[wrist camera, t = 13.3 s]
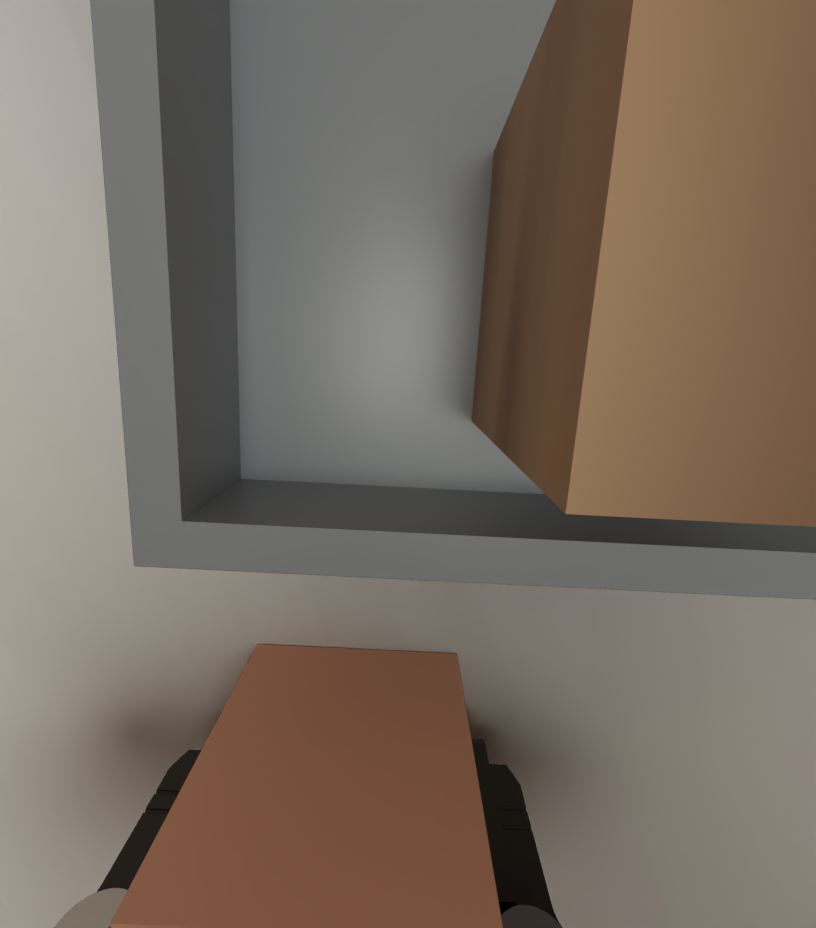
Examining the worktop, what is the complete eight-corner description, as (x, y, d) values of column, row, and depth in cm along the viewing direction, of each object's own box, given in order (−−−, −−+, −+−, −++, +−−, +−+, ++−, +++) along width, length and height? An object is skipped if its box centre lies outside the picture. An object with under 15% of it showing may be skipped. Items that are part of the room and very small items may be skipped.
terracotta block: (456, 653, 12) (504, 939, 6) (443, 815, 13) (471, 1190, 7) (257, 644, 12) (110, 923, 6) (259, 807, 13) (137, 1180, 7)
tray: (1222, -437, 8) (1885, -1084, 4) (924, 537, 11) (1151, 615, 8) (183, -514, 7) (-9, -1260, 4) (219, 501, 11) (133, 566, 8)
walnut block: (762, 167, 9) (1477, -220, 3) (711, 434, 10) (1156, 544, 4) (493, 151, 9) (668, -275, 3) (471, 421, 10) (565, 514, 4)
